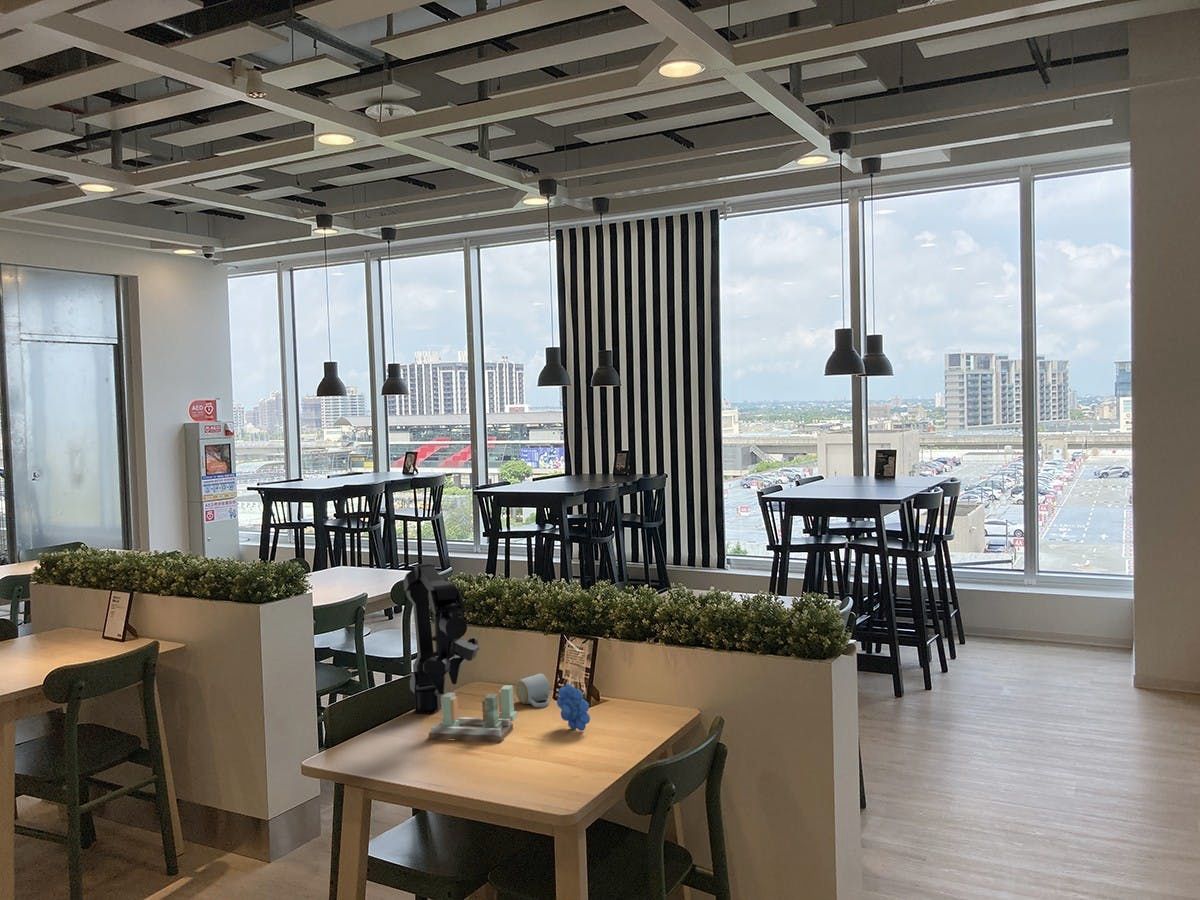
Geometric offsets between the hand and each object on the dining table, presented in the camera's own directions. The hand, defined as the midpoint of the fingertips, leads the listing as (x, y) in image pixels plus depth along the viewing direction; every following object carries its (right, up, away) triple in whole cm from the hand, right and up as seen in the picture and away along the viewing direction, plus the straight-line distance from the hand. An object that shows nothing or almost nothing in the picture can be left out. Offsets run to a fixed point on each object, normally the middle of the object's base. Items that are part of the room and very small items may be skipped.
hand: (448, 689), depth 258 cm
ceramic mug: (+22, -10, +24) cm, 34 cm away
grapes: (+33, -11, -1) cm, 35 cm away
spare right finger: (+15, -11, +10) cm, 21 cm away
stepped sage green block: (0, -10, 0) cm, 10 cm away
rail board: (+6, -12, -1) cm, 13 cm away
